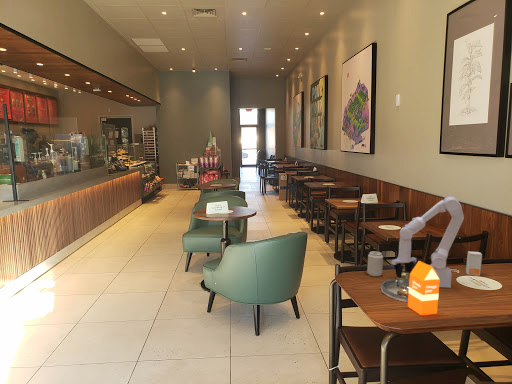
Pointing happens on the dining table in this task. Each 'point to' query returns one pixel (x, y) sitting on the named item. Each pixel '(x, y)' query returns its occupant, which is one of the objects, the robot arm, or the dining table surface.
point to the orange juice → (423, 289)
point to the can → (375, 264)
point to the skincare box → (473, 263)
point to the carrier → (396, 289)
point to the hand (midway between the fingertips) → (403, 276)
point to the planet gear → (404, 275)
